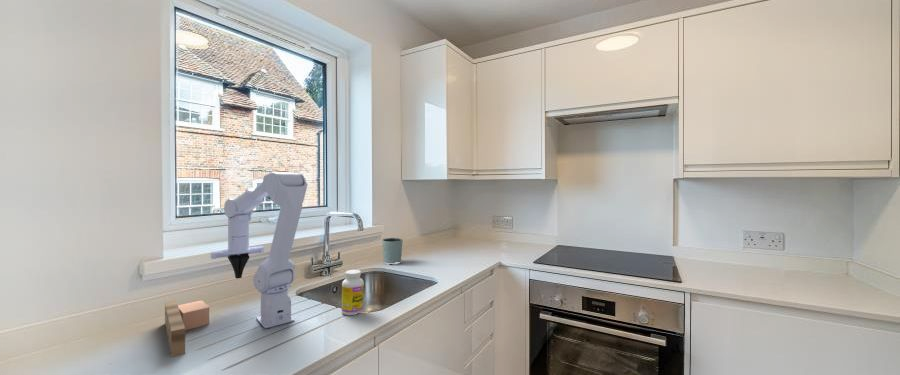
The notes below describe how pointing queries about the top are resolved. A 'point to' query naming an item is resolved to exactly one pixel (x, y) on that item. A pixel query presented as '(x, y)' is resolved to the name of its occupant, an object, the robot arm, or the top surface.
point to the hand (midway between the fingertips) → (238, 277)
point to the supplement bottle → (352, 293)
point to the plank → (174, 329)
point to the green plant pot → (392, 249)
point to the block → (194, 314)
